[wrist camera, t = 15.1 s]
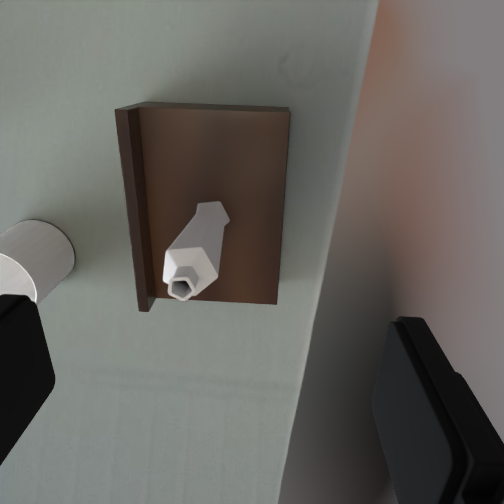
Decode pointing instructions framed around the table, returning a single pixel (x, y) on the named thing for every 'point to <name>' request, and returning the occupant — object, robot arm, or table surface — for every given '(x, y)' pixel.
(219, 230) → the perfume bottle
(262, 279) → the wooden display stand
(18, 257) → the mug
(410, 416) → the robot arm
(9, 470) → the table surface
